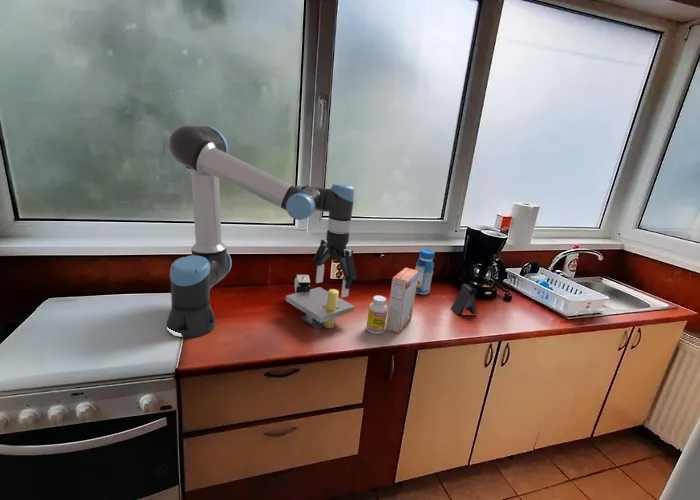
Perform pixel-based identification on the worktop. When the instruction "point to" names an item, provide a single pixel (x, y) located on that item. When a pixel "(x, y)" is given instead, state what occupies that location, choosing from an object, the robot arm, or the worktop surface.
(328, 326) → the pin
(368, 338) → the worktop surface
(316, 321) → the gray slab
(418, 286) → the beverage bottle
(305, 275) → the pneumatic valve
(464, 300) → the phone stand
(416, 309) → the worktop surface
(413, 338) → the worktop surface
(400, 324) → the cracker box
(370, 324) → the supplement bottle
